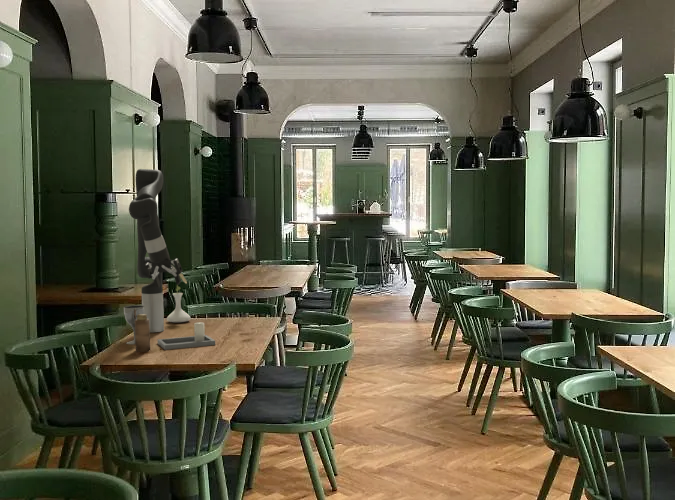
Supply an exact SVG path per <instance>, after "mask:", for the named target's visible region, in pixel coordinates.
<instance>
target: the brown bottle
mask: <svg viewBox="0 0 675 500" xmlns="http://www.w3.org/2000/svg"><path fill="white" fill-rule="evenodd" d="M135 343H136V344H135V352H137V353H144V351H146V352H150V351H151V332H150V325H149V319H147V314H139V315H137V320H135ZM149 350H150V351H149Z"/></svg>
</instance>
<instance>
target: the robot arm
mask: <svg viewBox="0 0 675 500" xmlns="http://www.w3.org/2000/svg"><path fill="white" fill-rule="evenodd" d="M134 180H135V191H136V197H134V199H133V200H131V201H130V203H129V205H128V213H129V215H130V217H131V218H133V219H134V220H136V227H137V228H136V230H137V259H136V260H137V263H136V266H137V267H136V269H137V275H138V277H139V278H140V279H146V278H147V279H152V280H153V281H151V282H150V283H149V284H146V285H143V286H142V287H141V291H140V292H141V305H143V306H144V314H147V319H149V325H150V333H161V332H163V331H165V319H164V315H165V313H164V291H163V290H164V289H163V273H169V274H171V275H173V277H174V280H175V283H176V286H177V285H178V286H179V285H180V284H181V282H182V279H180V275H179V274H182V272H184V271H183V268H182V265H181V263H180V260H179V258H177V257H176V258H175V259H171V257H170V253H169V250H168V248H167V244H166V242H165V239H164V236H163V235H162V230H161V228H160V218H159V215H158V204H157V202H156V198H157V197H158V195H159V194H160V193H161V191H162V188H163V184H164V175H163V172H162V171H161V170H159V169H148V168H139V169H137V171H136V173H135V179H134ZM147 254H148V256H147Z"/></svg>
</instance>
